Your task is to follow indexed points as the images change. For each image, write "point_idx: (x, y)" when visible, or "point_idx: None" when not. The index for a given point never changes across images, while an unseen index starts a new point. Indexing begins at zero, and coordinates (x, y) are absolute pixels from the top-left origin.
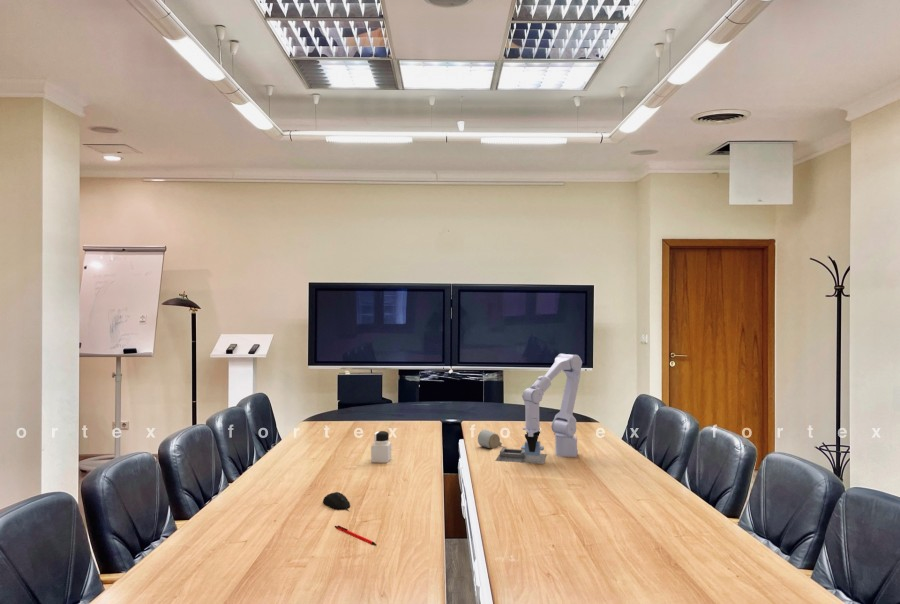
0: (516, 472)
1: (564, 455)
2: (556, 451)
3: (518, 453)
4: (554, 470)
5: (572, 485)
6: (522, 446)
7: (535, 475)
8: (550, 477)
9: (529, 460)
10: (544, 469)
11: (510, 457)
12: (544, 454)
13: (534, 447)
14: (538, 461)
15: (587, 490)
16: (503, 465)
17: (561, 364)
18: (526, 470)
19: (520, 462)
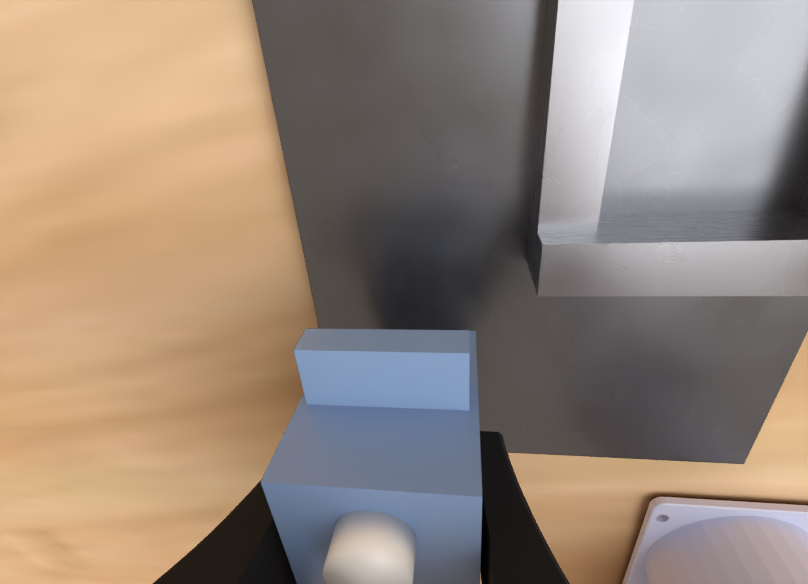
0: (15, 239)
1: (649, 576)
2: (720, 562)
3: (596, 186)
4: None
5: (40, 543)
6: (377, 365)
7: (58, 387)
8: (89, 466)
9: (421, 326)
10: (249, 434)
11: (517, 48)
12: (731, 443)
13: None
14: None
15: (23, 579)
16: (157, 20)
17: None
18: (136, 315)
19: (301, 242)
